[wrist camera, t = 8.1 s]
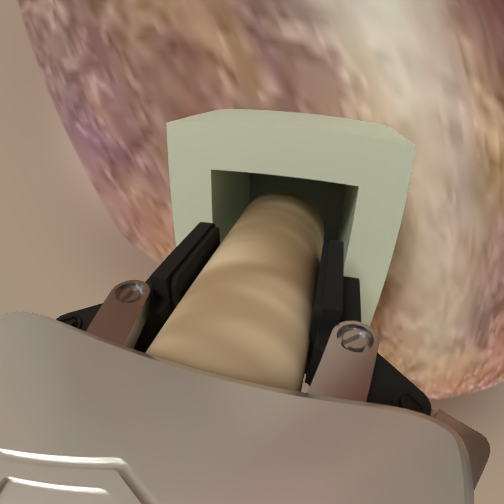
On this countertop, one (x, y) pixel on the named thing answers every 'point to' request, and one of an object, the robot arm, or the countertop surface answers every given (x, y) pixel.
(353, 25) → the countertop surface
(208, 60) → the countertop surface
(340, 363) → the robot arm
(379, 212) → the socket block
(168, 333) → the peg
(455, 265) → the countertop surface
